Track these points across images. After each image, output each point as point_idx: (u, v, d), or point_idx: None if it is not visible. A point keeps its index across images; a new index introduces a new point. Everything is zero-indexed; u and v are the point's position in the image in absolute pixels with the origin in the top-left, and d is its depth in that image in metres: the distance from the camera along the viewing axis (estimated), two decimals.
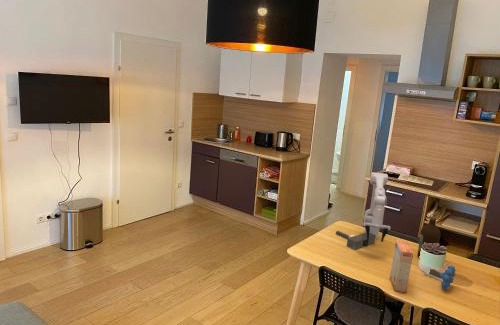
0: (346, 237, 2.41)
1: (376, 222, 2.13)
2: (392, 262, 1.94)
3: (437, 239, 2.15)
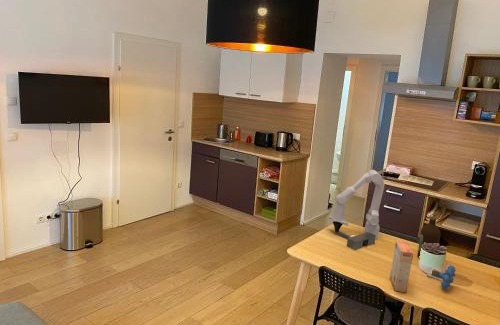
0: (347, 237, 2.41)
1: (334, 217, 2.46)
2: (392, 262, 1.94)
3: (437, 239, 2.15)
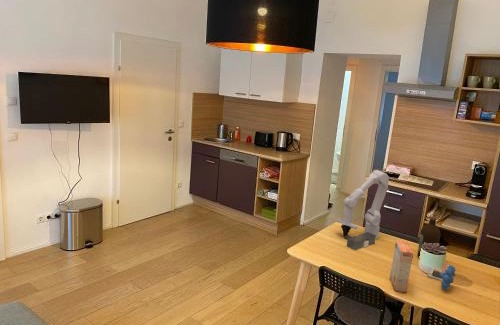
0: None
1: (343, 220, 2.40)
2: (392, 262, 1.94)
3: (437, 239, 2.15)
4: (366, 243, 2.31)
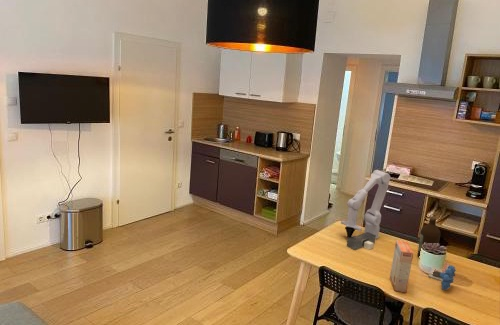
0: None
1: (347, 222, 2.38)
2: (392, 262, 1.94)
3: (437, 239, 2.15)
4: (371, 245, 2.29)
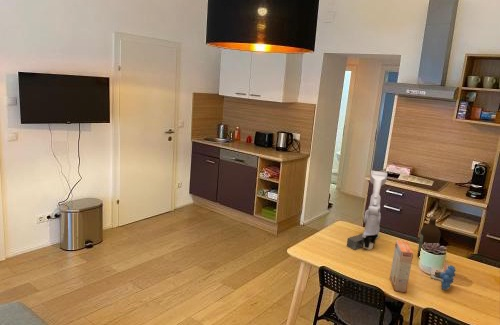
0: None
1: None
2: (392, 262, 1.94)
3: (437, 239, 2.15)
4: (370, 245, 2.28)
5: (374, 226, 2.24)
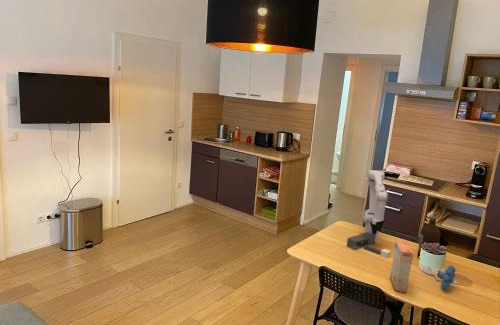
0: (377, 252, 2.23)
1: None
2: (392, 262, 1.94)
3: (437, 239, 2.15)
4: (388, 253, 2.19)
5: (382, 212, 2.25)
